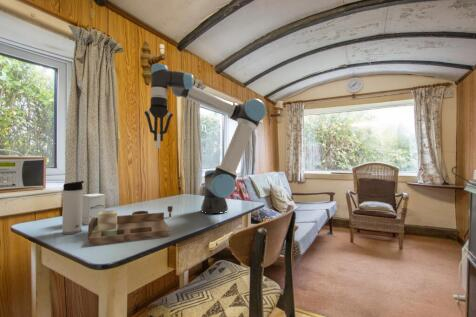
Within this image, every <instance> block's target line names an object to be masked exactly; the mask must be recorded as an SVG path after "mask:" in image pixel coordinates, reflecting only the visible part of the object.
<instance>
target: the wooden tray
mask: <svg viewBox="0 0 476 317" xmlns="http://www.w3.org/2000/svg"><path fill="white" fill-rule="evenodd" d="M87 226H88V227H87V229H88V230H87V231H88V232H87V239H88V246H89V247H92V246H99V245H109V244H116V243H119V244H120V243H126V242H134V241H135V242H136V241H143V240H153V239H159V238H169V237H170V229H169V227H168V224H167V223H166V221H165V212H152V213H151V212H150V213H149V212H148V214H136V215H132V214H124V215H117V227H116V229H111V230H100V231H98V217H96V218H92V219H91V221H90V223H89V224H88V225H87ZM152 238H153V239H152Z"/></svg>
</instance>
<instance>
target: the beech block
mask: <svg viewBox="0 0 476 317" xmlns="http://www.w3.org/2000/svg"><path fill="white" fill-rule="evenodd" d="M117 216H118V209H114V210H111V209H110V210H105V211H100V212H99V214H98V231H100V230H111V229H116V227H117Z"/></svg>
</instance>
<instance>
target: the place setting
mask: <svg viewBox="0 0 476 317" xmlns="http://www.w3.org/2000/svg"><path fill="white" fill-rule="evenodd" d="M173 210H174V208H173V206H172V205H169V206H167V212H168V218H169V217H171V218H172V212H173ZM136 214H149V211H147V210H137V211H132V213H131V215H136Z"/></svg>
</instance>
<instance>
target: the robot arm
mask: <svg viewBox="0 0 476 317" xmlns="http://www.w3.org/2000/svg"><path fill="white" fill-rule="evenodd" d="M150 70H151V71H150V107H149V109H148V110H145V111H144V113H143V114H144V115H145V117H146V120H147V125H148V128H149V133H151V134H153V140H154V142H155V143H156V146H155V148H156V149H161V142H162V141H164V140H163V139H164V138H163V137H164V134H167V132H168V129H169V126H170V122H171V119H172V117H174V116H173V113H171V112H170V111H169V109H168V89H169V88H170V89H171V92H172V95H174V96H176V97H179V98H181V97H183V98H184V99H187V100H190V101H192V102H195V103H196V104H199V105H201V106H203V107H206V108H208V109H211V110H214V111H216V112H218V113H221V114H223V115H225V116H227V117H228V119H230V120H233V121H235V122H237V124H236V125H237V126H236V128H235V130H234V132H233V135H232V137H231V139H230V142H229V144H228V146H227V149H226V152H225V153H224V156H223V158H222V160H221V163H220V165H218V166H216V167H215V169H214V170H213V169H211V170H206V171H205V172H204V198H203V201H202V203H201V206H200V212H201V211H203V212H206V213H220V212H225V211H227V210H228V211H229V206H228V204H227V200H226V198H227V197H229V196H231V195H232V194H233V192H235V189H236V180H237V177H238V175H237V172H236V171H237V169H238V167H239V166H240V165H239V164H240V162H241V160H242V157H243V155H244V153H245V151H246V148H247V146H248V142H249V140H250V138H251V136H252V134H253V132H254V130H257V129H258V126H259V124H260V122H261V121H262V120H263V119H264V118H265V116H266V115H267V114H266V113H267V107H266V106H265V103H264V102H263V101H262V100H260V99H259V98H251V99H248V100H247V101H246V102H244V103H237V102H230V101H228V100H226V99H223V98H222V97H219V96H217V95H214V94H212V93H210V92H208V91H205V90H203V89H201V88H199V87H196V86H194V75H193V74H192V73H189V72H184V71H183V72H182V71H175V70H174V71H172V70H169V67H168V66H167V65H166V64H162V63H154V64H152V65H151V69H150ZM151 115H152V116H153V120H154V121H153V122H154V123H153V124H152V121H151V120H152V119H151ZM166 116H167V118H166V123H165V126H164V118H165V117H166ZM158 120H159V133H158ZM206 213H205V214H206Z"/></svg>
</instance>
